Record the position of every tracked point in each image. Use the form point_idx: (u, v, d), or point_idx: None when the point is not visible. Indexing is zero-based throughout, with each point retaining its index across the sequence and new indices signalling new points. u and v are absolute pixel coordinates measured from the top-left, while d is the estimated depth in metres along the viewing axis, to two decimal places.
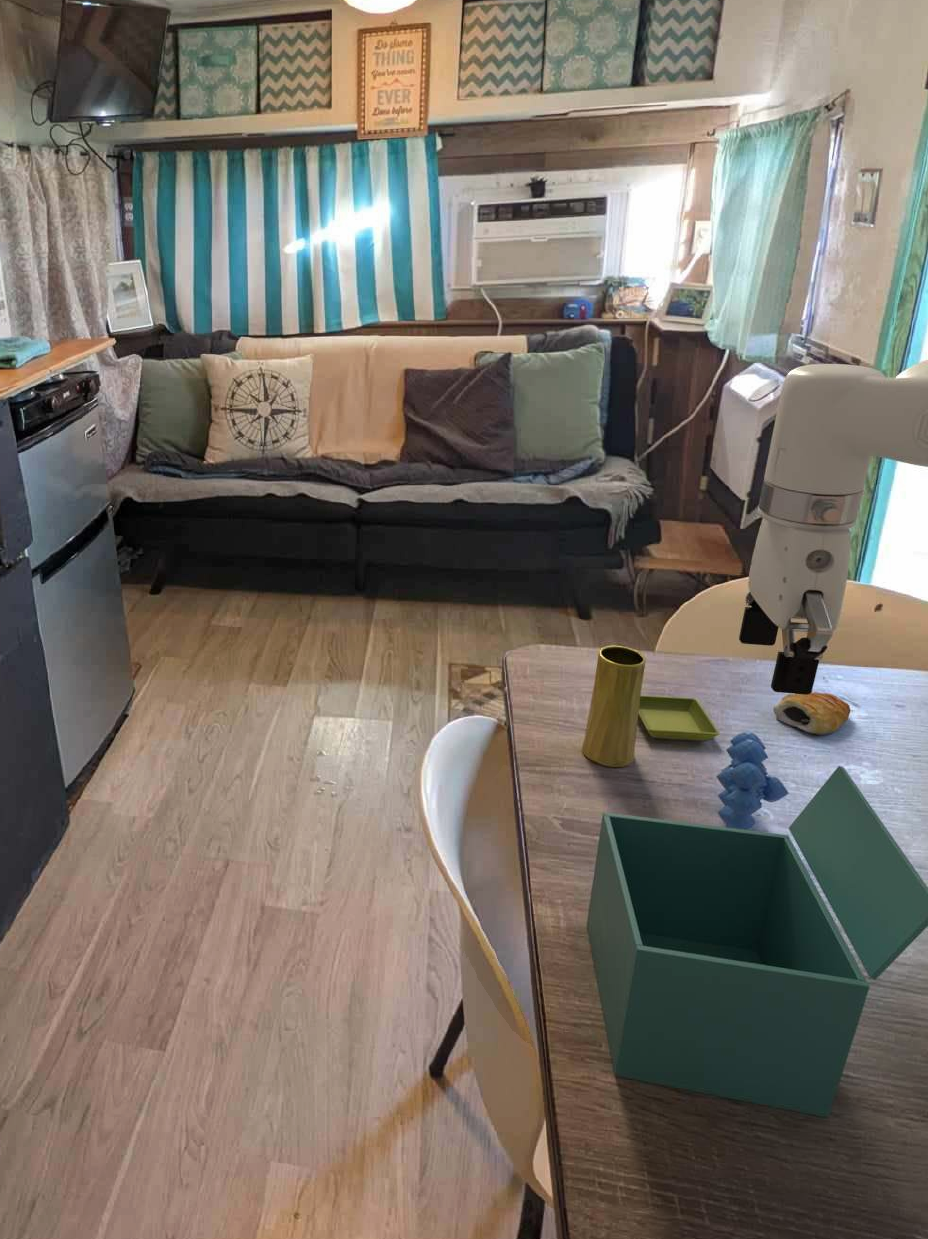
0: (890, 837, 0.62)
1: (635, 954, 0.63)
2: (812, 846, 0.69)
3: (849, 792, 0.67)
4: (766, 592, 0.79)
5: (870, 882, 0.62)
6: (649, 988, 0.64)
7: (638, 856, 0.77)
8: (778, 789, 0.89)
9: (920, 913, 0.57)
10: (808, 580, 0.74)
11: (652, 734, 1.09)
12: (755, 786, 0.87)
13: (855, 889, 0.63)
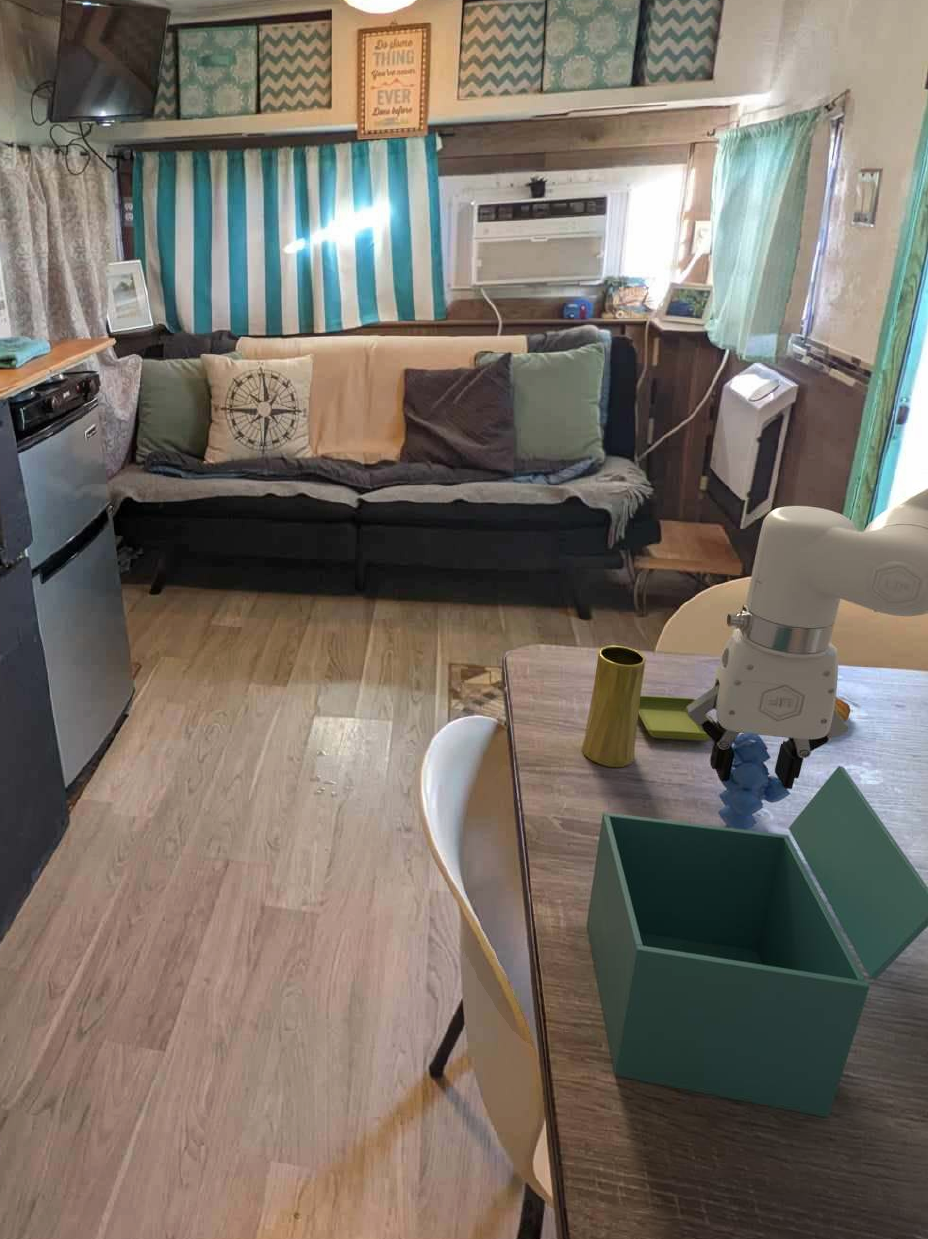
0: (890, 837, 0.62)
1: (635, 954, 0.63)
2: (812, 846, 0.69)
3: (849, 792, 0.67)
4: None
5: (870, 882, 0.62)
6: (649, 988, 0.64)
7: (638, 856, 0.77)
8: (780, 790, 0.89)
9: (920, 913, 0.57)
10: (719, 670, 0.88)
11: (652, 734, 1.09)
12: (757, 786, 0.87)
13: (855, 889, 0.63)
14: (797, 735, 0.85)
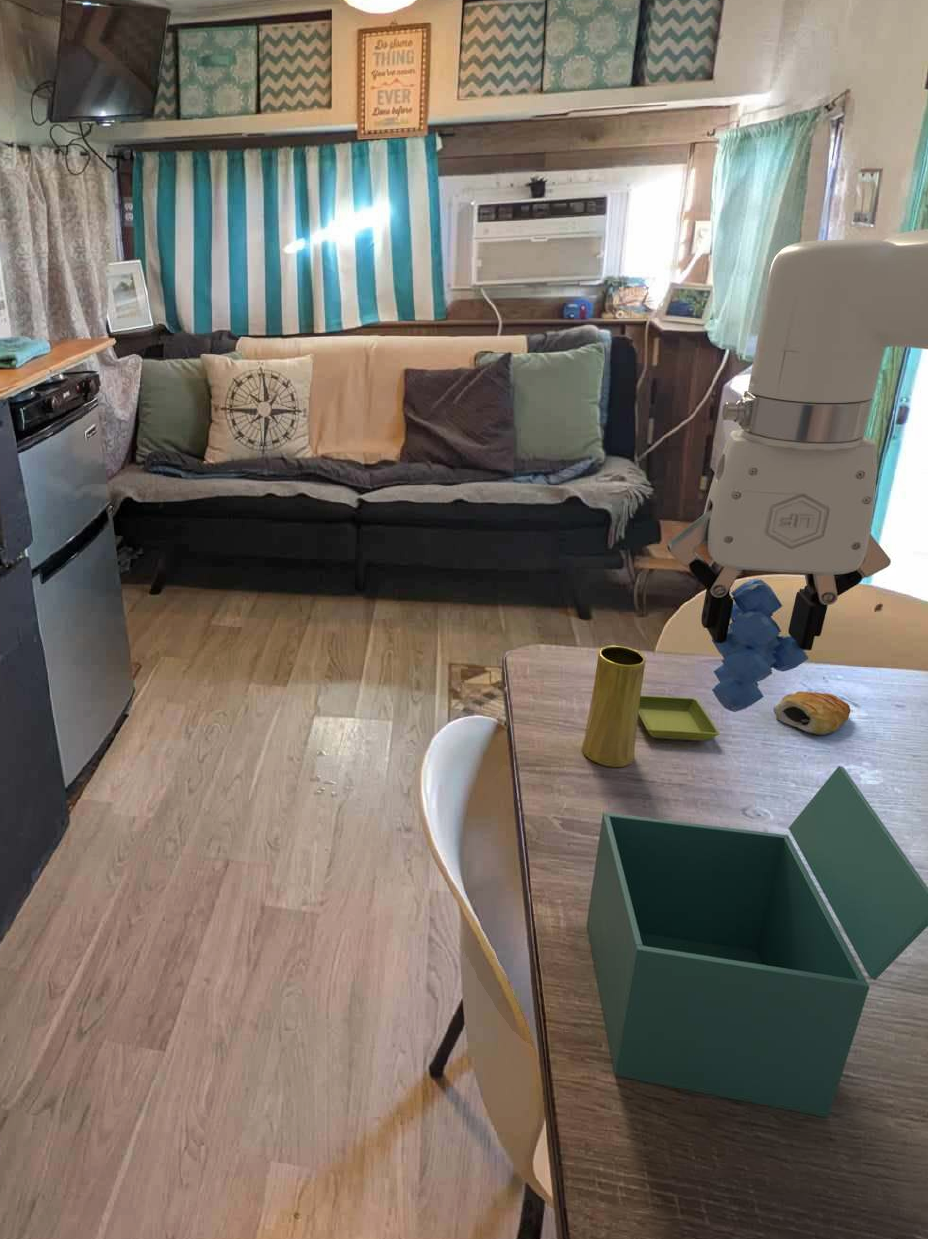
0: (890, 837, 0.62)
1: (635, 954, 0.63)
2: (812, 846, 0.69)
3: (849, 792, 0.67)
4: None
5: (870, 882, 0.62)
6: (649, 988, 0.64)
7: (638, 856, 0.77)
8: (795, 651, 0.66)
9: (920, 913, 0.57)
10: (712, 488, 0.65)
11: (652, 734, 1.09)
12: (764, 641, 0.64)
13: (855, 889, 0.63)
14: (819, 568, 0.62)
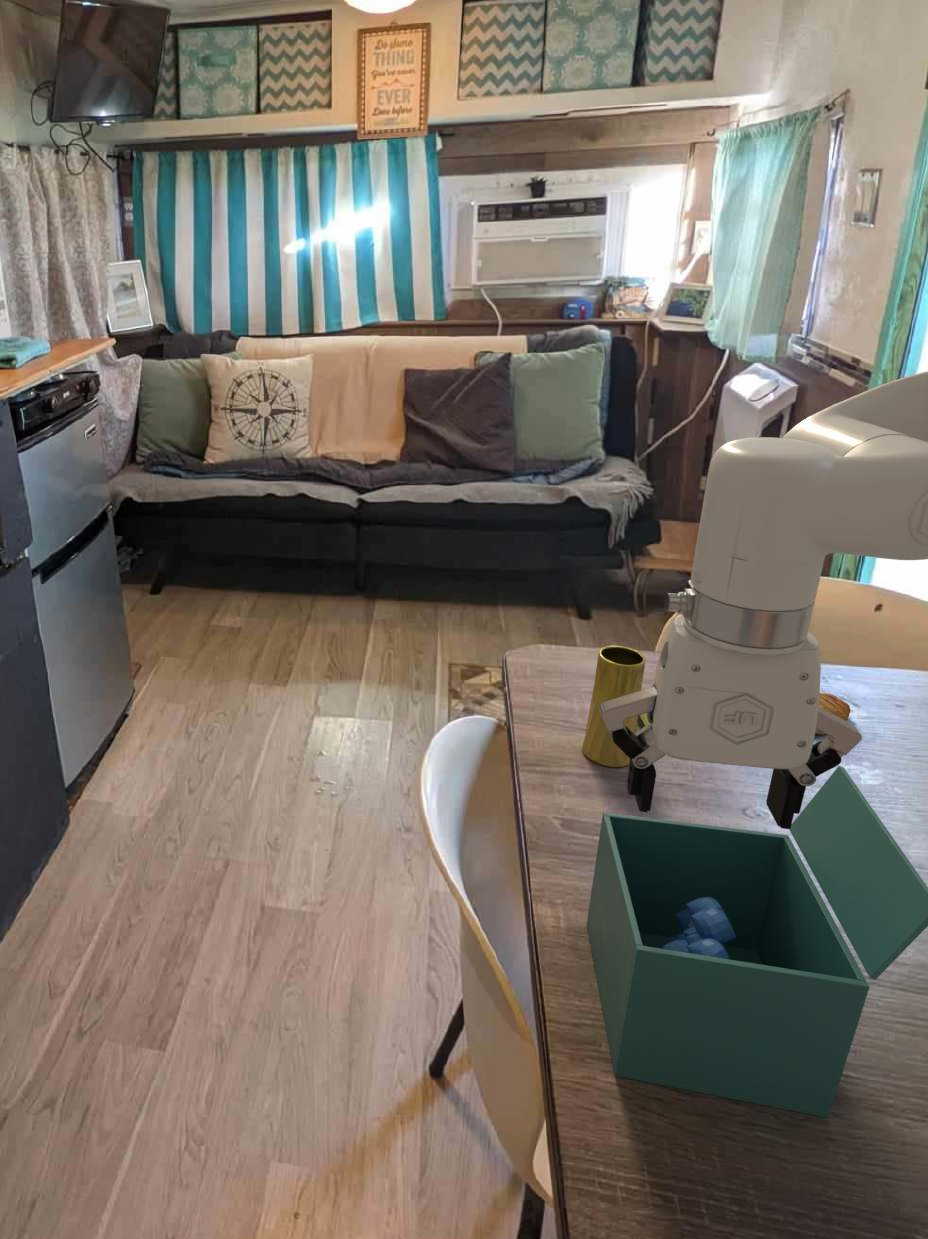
0: (890, 837, 0.62)
1: (635, 954, 0.63)
2: (812, 846, 0.69)
3: (849, 792, 0.67)
4: None
5: (870, 882, 0.62)
6: (649, 988, 0.64)
7: (638, 856, 0.77)
8: None
9: (920, 913, 0.57)
10: (656, 673, 0.63)
11: None
12: None
13: (855, 889, 0.63)
14: (765, 764, 0.60)
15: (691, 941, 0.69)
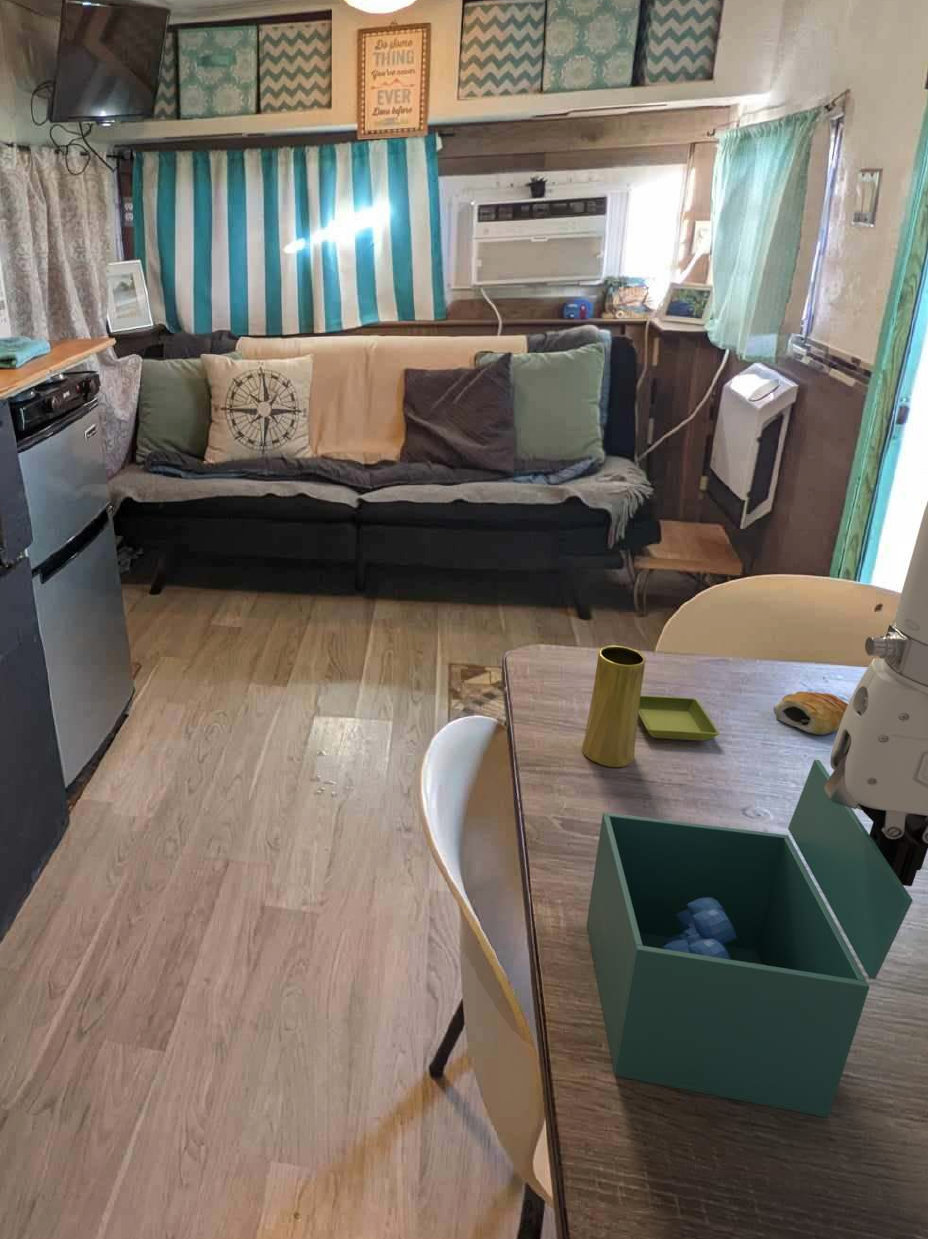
0: (862, 829, 0.62)
1: (635, 954, 0.63)
2: (807, 845, 0.69)
3: None
4: None
5: (854, 878, 0.62)
6: (649, 988, 0.64)
7: (638, 856, 0.77)
8: None
9: (895, 906, 0.57)
10: (849, 718, 0.61)
11: (652, 734, 1.09)
12: None
13: (845, 887, 0.63)
14: None
15: (692, 941, 0.69)
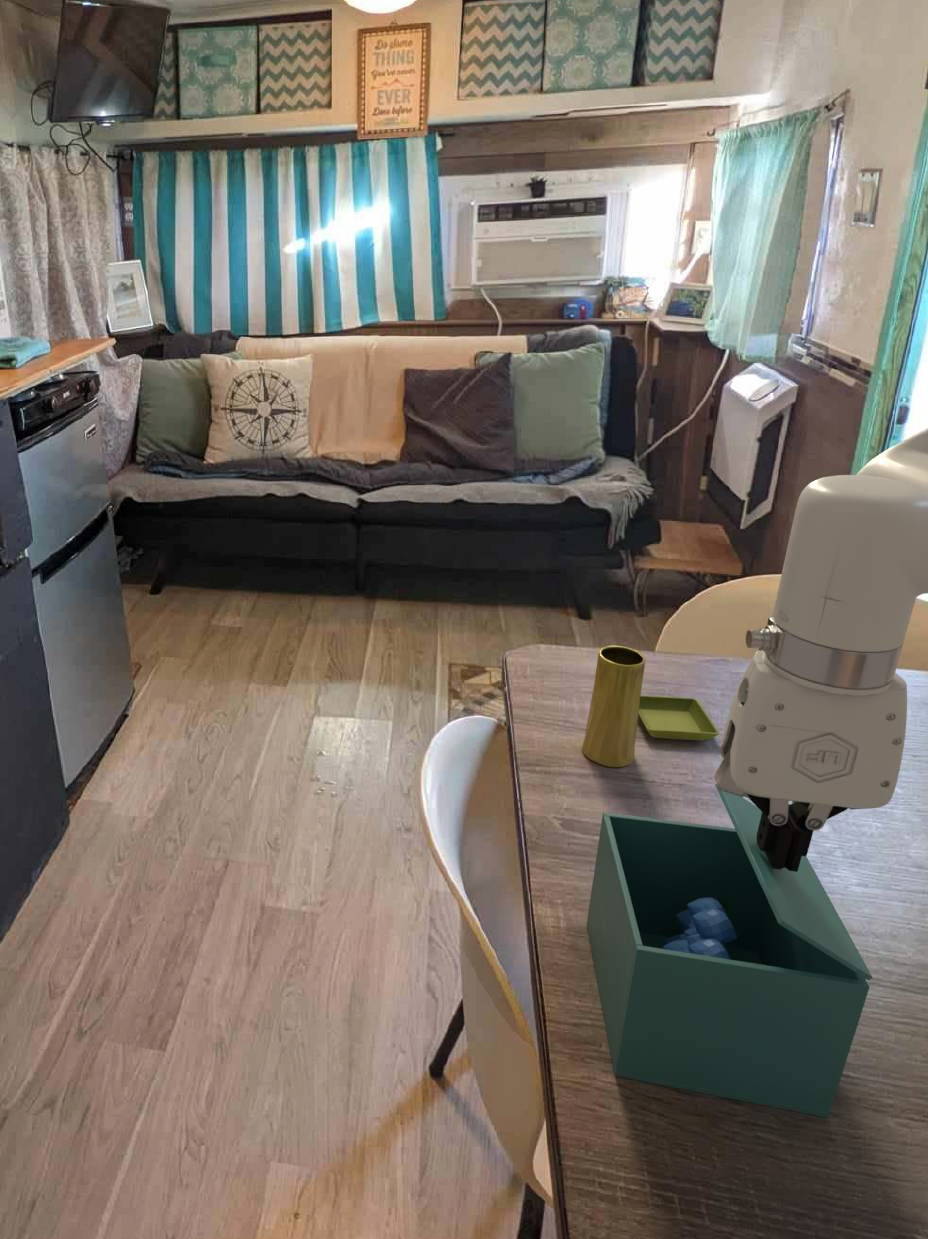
0: (748, 853, 0.65)
1: (635, 954, 0.63)
2: None
3: None
4: None
5: None
6: (649, 988, 0.64)
7: (638, 856, 0.77)
8: None
9: None
10: (734, 708, 0.63)
11: (652, 734, 1.09)
12: None
13: None
14: (846, 803, 0.60)
15: (692, 941, 0.69)
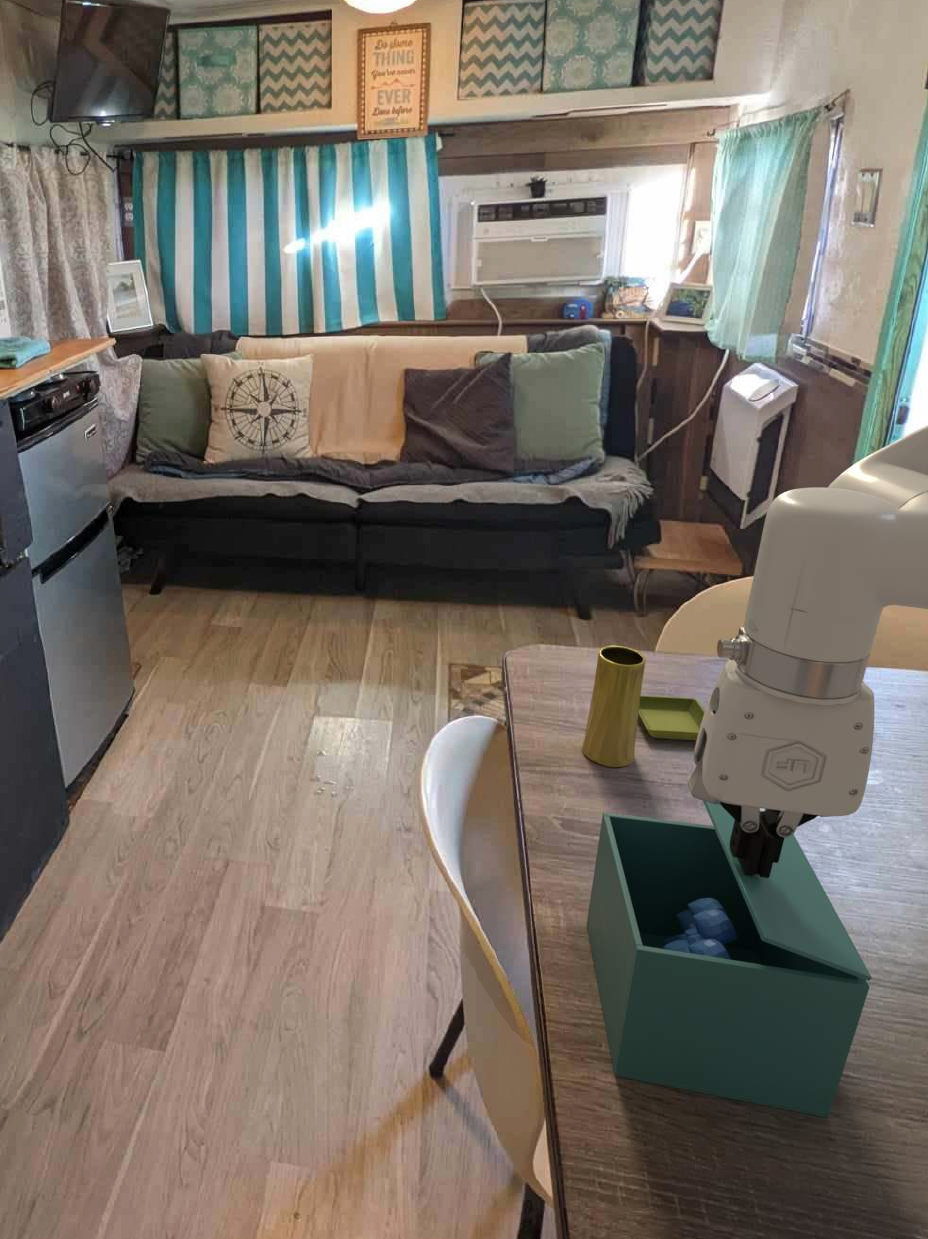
0: (733, 869, 0.66)
1: (635, 954, 0.63)
2: None
3: None
4: None
5: None
6: (649, 988, 0.64)
7: (638, 856, 0.77)
8: None
9: None
10: (706, 717, 0.64)
11: (652, 734, 1.09)
12: None
13: None
14: (815, 811, 0.61)
15: (692, 941, 0.69)
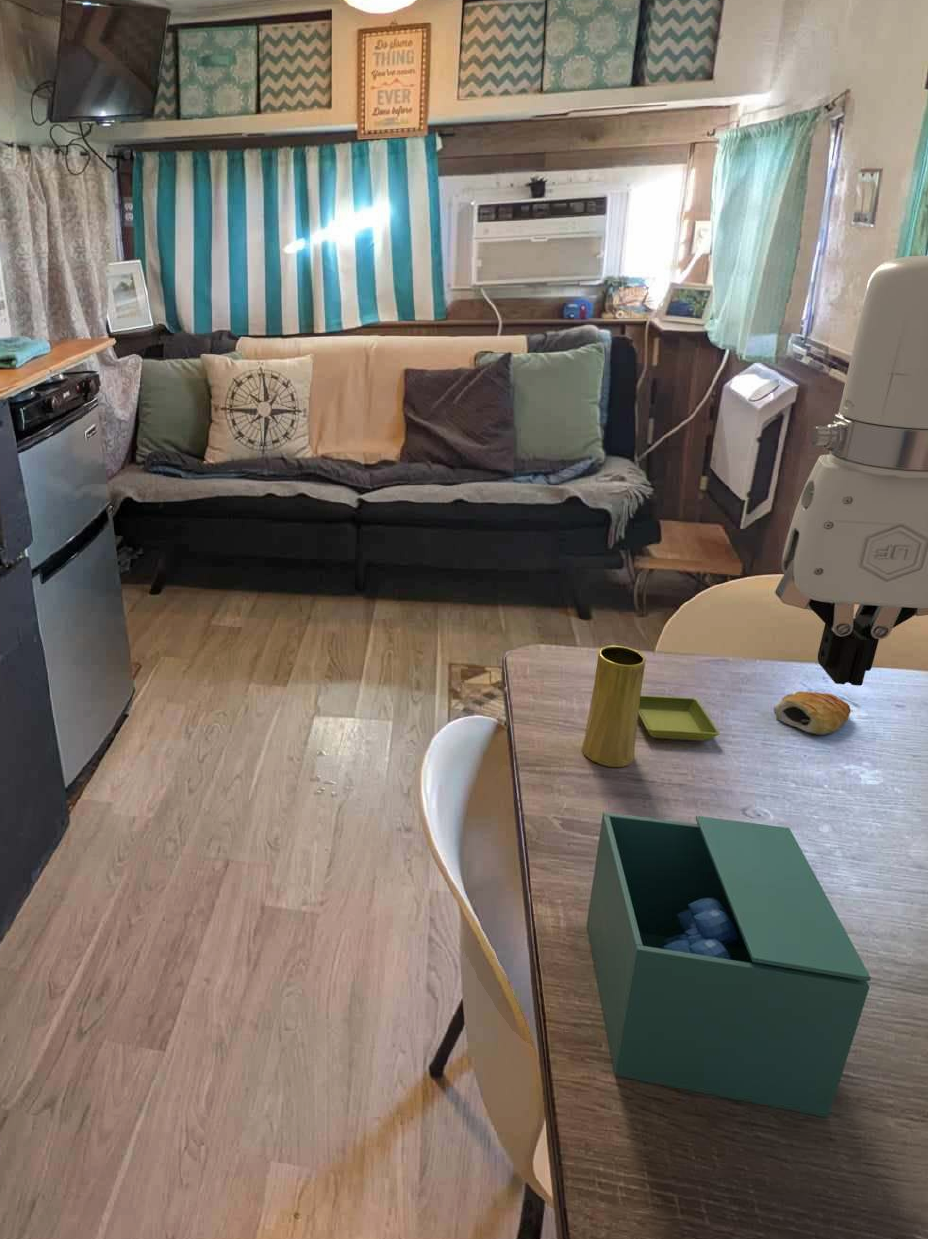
0: (724, 889, 0.67)
1: (635, 954, 0.63)
2: None
3: None
4: None
5: None
6: (649, 988, 0.64)
7: (638, 856, 0.77)
8: None
9: None
10: (797, 516, 0.62)
11: (652, 734, 1.09)
12: None
13: None
14: (916, 602, 0.58)
15: (693, 941, 0.69)
